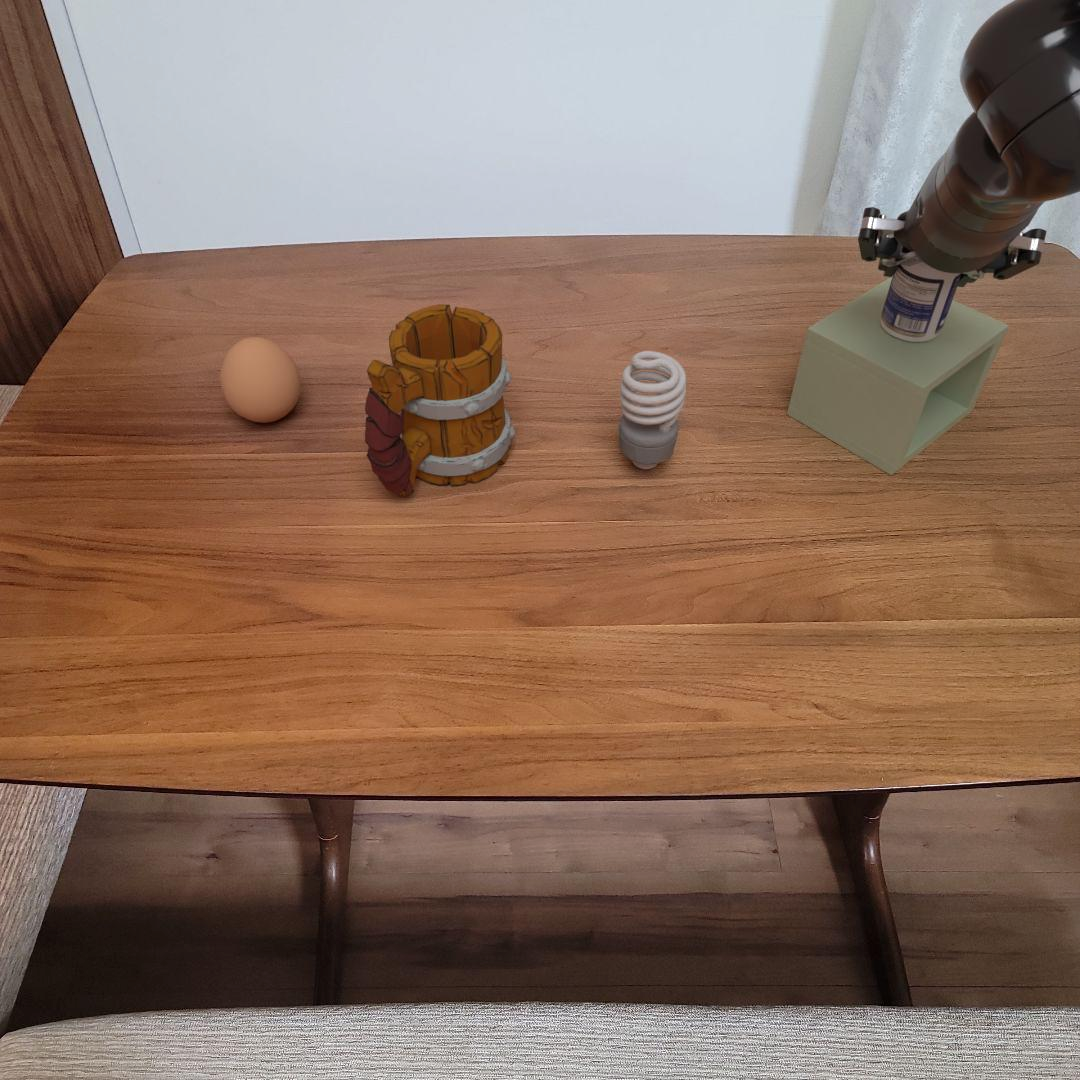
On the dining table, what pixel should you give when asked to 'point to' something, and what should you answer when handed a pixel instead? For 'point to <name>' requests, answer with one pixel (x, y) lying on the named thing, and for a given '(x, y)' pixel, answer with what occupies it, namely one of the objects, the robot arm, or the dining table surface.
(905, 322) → the pill bottle
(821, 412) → the shelf
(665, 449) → the light bulb
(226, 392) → the egg
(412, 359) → the mug
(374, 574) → the dining table surface
